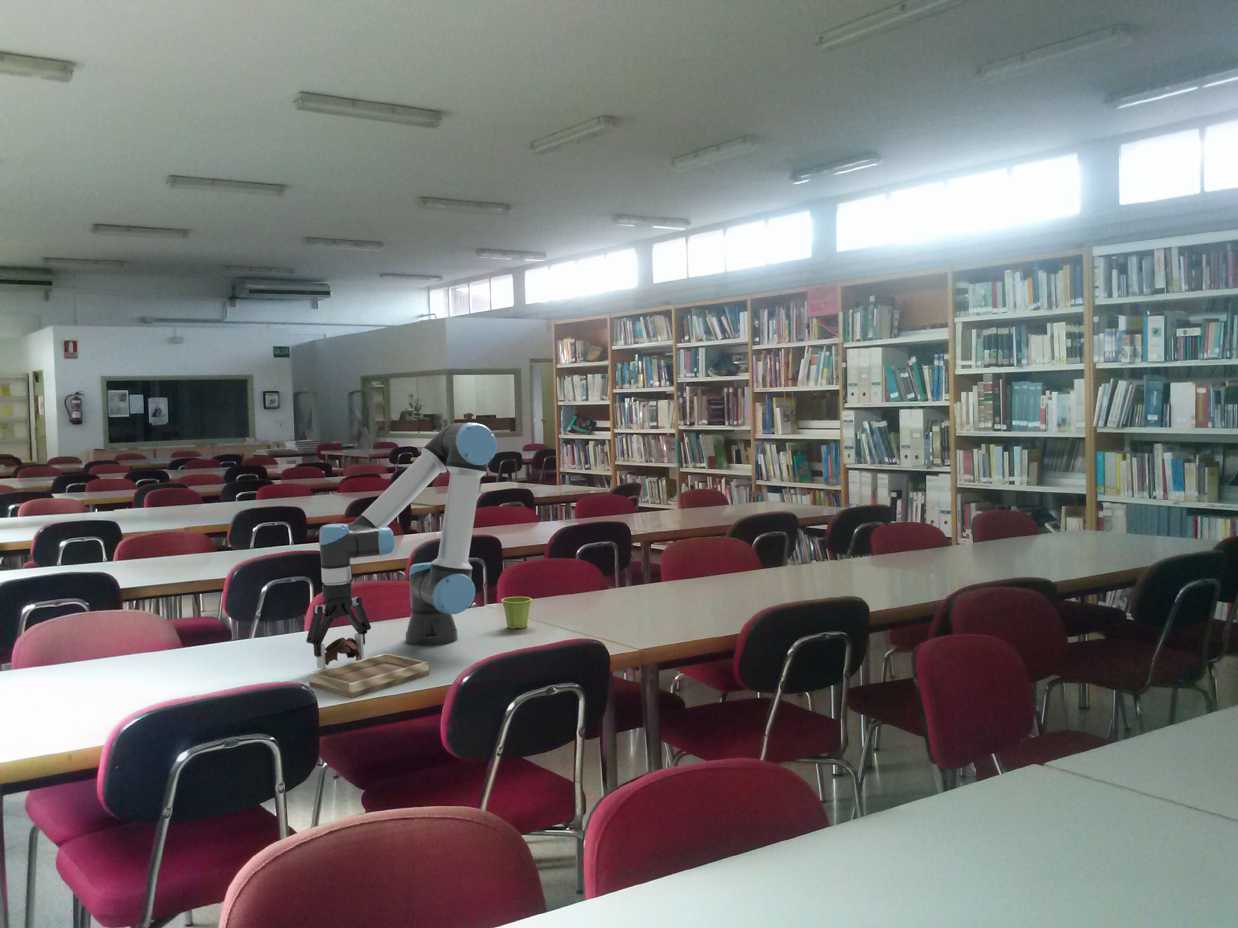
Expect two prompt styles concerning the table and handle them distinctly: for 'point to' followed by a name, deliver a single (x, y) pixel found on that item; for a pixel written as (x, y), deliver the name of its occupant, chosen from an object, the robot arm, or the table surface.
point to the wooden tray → (368, 674)
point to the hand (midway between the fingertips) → (341, 662)
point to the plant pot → (516, 611)
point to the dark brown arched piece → (342, 650)
